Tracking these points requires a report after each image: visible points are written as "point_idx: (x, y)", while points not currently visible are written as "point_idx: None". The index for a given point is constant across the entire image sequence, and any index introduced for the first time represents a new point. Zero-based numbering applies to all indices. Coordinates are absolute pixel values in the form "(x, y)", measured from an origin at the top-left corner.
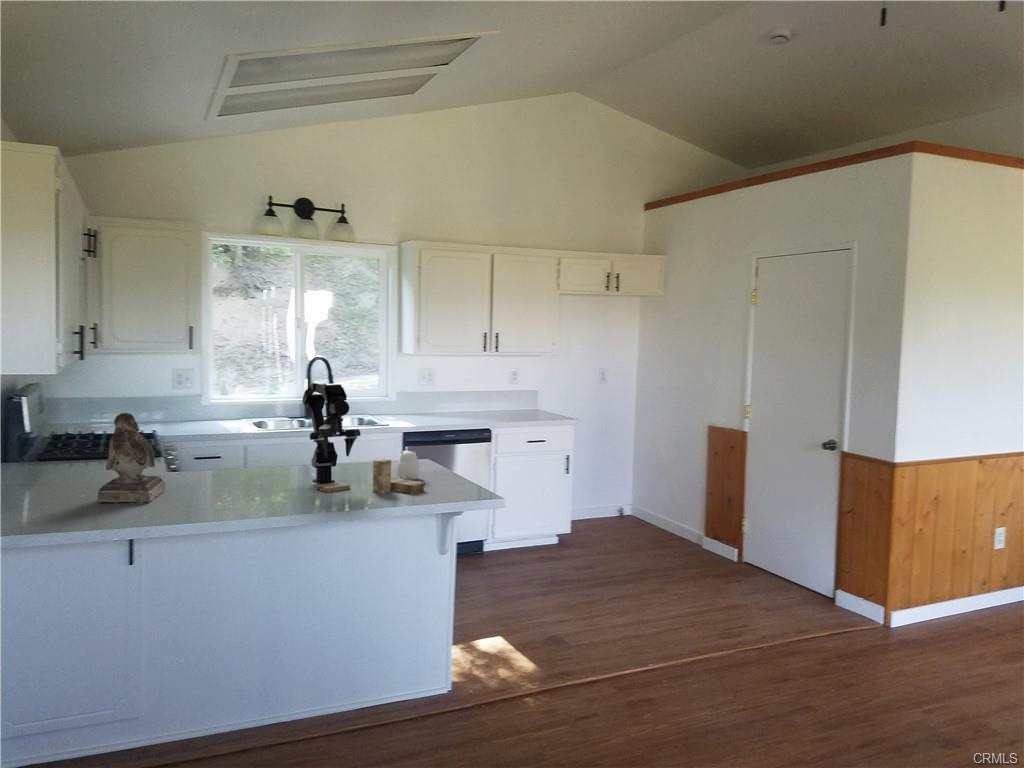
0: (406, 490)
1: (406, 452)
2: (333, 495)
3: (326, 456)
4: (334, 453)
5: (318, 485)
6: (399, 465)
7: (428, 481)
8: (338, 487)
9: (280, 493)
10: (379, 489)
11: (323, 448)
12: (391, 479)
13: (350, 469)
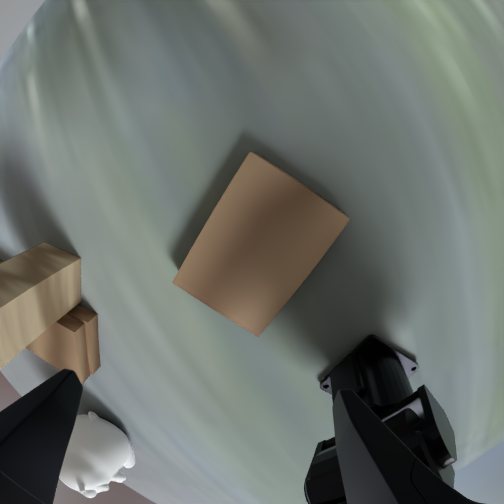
0: None
1: (66, 480)
2: (189, 108)
3: (335, 412)
4: (314, 496)
5: (339, 213)
6: (91, 449)
7: None
8: (208, 219)
9: (465, 82)
10: (48, 252)
11: (382, 479)
12: (54, 349)
13: None
